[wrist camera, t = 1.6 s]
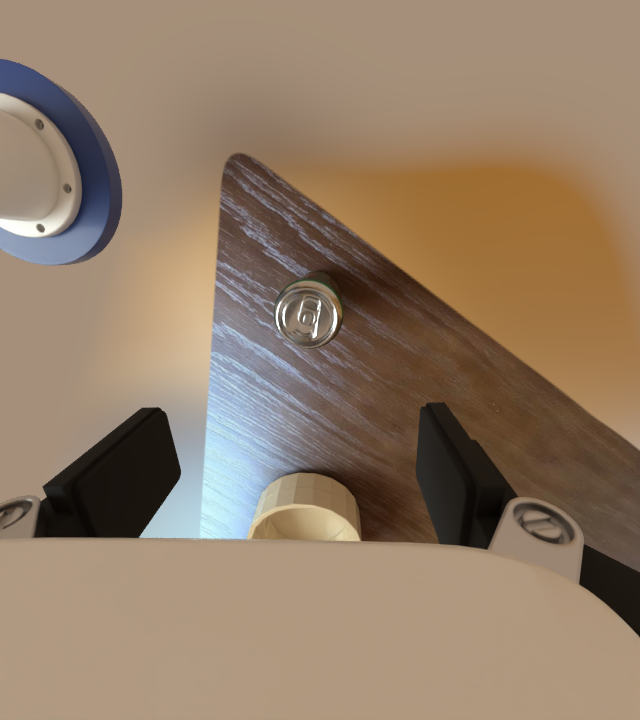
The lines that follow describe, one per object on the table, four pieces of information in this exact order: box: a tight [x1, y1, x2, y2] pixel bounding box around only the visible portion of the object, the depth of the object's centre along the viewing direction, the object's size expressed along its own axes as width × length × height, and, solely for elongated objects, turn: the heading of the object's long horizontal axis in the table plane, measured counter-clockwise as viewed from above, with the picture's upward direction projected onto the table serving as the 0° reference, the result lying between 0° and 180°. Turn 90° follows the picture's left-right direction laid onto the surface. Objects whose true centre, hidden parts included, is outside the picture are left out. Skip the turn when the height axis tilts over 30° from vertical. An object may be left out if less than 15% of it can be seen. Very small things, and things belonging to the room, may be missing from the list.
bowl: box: [247, 473, 362, 541], centre depth 39 cm, size 14×14×6 cm
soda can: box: [274, 271, 343, 349], centre depth 26 cm, size 5×5×12 cm
